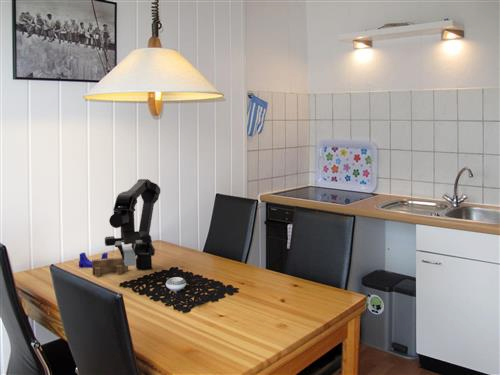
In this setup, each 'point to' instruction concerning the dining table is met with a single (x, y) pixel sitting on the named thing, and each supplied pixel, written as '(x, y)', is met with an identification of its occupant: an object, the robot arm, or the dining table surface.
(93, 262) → the brown wooden bridge block
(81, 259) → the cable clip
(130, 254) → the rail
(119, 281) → the dining table surface
